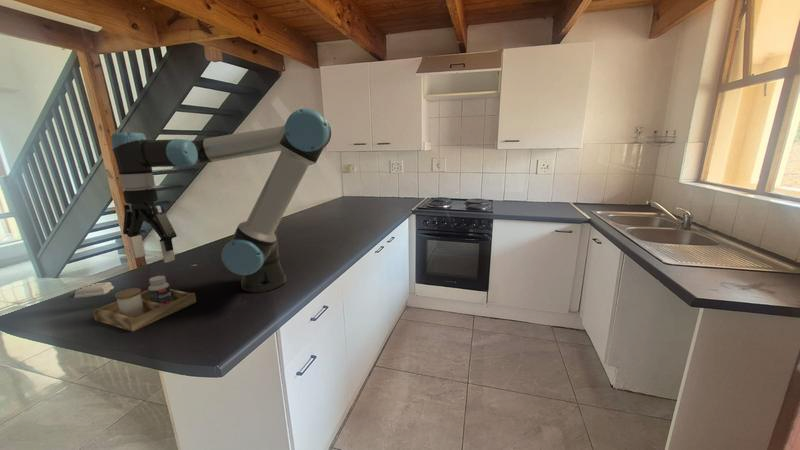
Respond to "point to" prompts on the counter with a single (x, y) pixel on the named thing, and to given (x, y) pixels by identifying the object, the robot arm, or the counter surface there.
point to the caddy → (151, 309)
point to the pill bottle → (159, 290)
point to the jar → (130, 302)
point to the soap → (93, 290)
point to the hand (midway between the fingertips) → (154, 258)
